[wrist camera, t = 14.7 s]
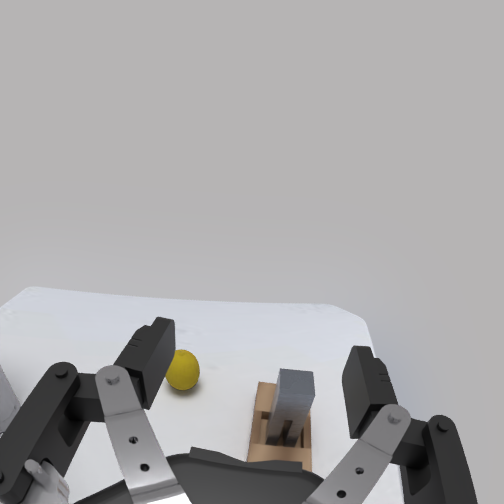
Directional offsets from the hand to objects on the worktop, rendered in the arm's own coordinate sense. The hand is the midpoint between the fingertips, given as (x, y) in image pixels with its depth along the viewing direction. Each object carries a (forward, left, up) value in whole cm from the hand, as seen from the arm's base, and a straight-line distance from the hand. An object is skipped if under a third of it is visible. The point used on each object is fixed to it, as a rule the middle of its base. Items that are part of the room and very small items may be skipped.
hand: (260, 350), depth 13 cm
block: (+5, +15, -29) cm, 33 cm away
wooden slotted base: (+5, +15, -30) cm, 34 cm away
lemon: (-11, +23, -30) cm, 40 cm away
